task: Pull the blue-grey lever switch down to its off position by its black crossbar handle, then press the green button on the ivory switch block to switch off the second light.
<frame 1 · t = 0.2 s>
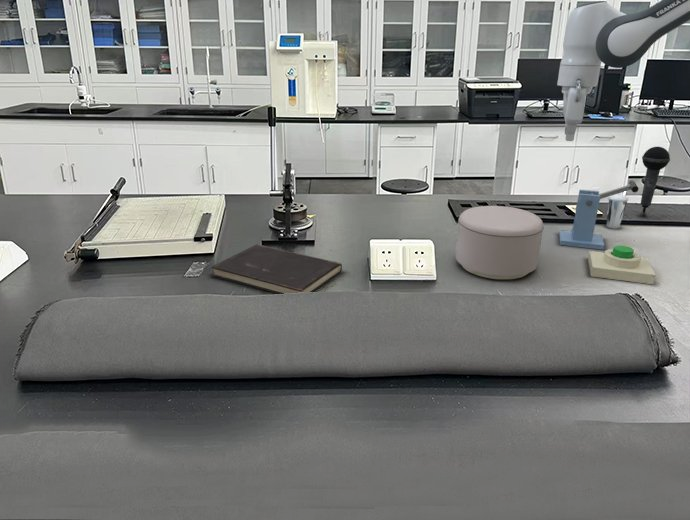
hand: (568, 137, 131), 25 cm above the countertop, tool pointing down, fingers open, 8 cm apart
lever bracket: (580, 241, 134), on the countertop
light button: (622, 252, 115), point 5 cm above the countertop, slide at 0.2 cm
light lever: (608, 193, 128), point 13 cm above the countertop, hinge at 25.0°
milkshake: (613, 227, 145), on the countertop
container: (494, 266, 120), on the countertop
hardcover book: (277, 274, 115), on the countertop
microphone: (642, 216, 154), on the countertop
switch block: (618, 271, 117), on the countertop
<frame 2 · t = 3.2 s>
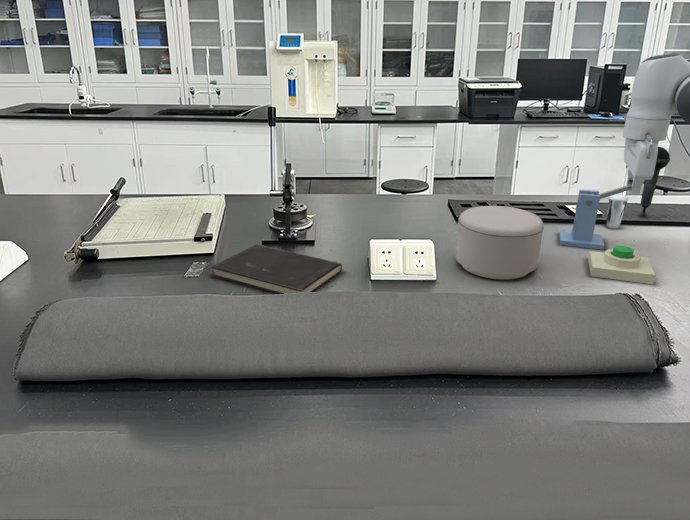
hand: (632, 189, 126), 14 cm above the countertop, tool pointing down, fingers closed on light lever, 6 cm apart
light lever: (608, 193, 128), point 13 cm above the countertop, hinge at 25.0°, touching gripper
everything else where it was.
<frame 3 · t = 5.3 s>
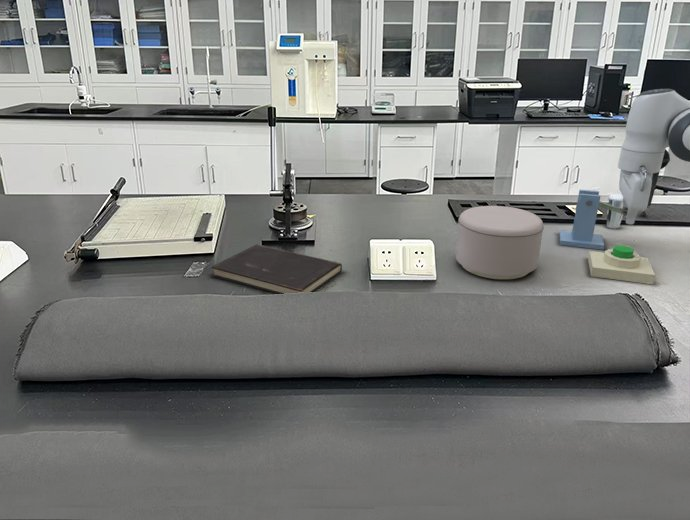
hand: (627, 218, 128), 7 cm above the countertop, tool pointing down, fingers closed on light lever, 6 cm apart
light lever: (607, 206, 129), point 10 cm above the countertop, hinge at -14.9°, touching gripper
everything else where it was.
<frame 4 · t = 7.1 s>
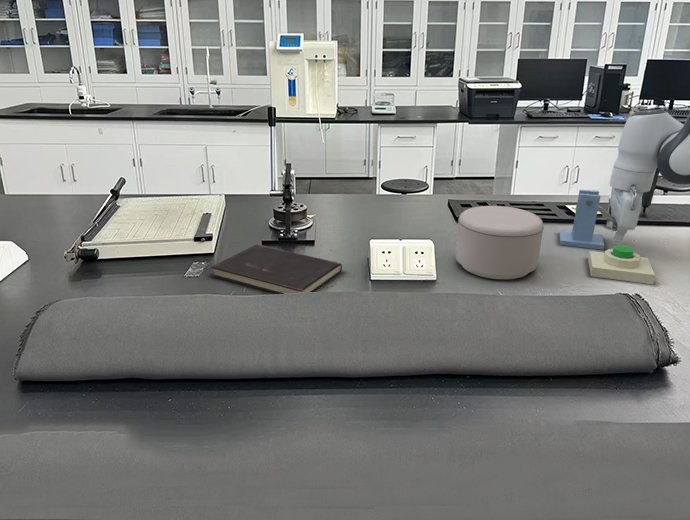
hand: (616, 235, 131), 3 cm above the countertop, tool pointing down, fingers closed on light lever, 6 cm apart
light lever: (603, 212, 130), point 8 cm above the countertop, hinge at -35.4°, touching gripper
everything else where it was.
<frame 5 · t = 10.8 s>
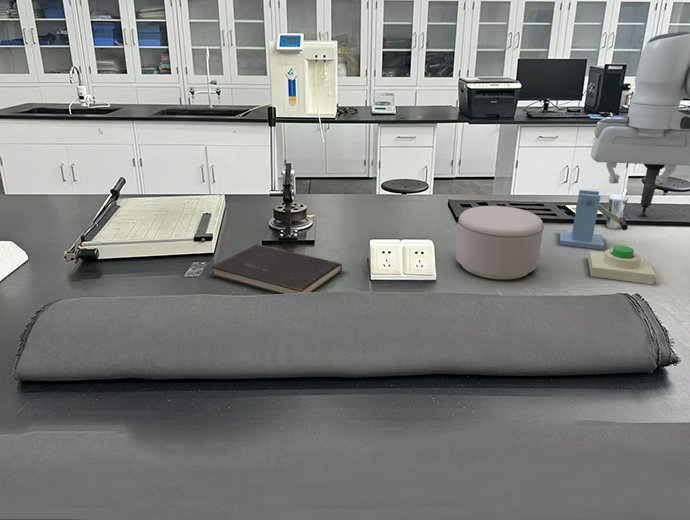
hand: (636, 183, 114), 19 cm above the countertop, tool pointing down, fingers open, 8 cm apart
light lever: (604, 210, 129), point 9 cm above the countertop, hinge at -30.7°
everything else where it was.
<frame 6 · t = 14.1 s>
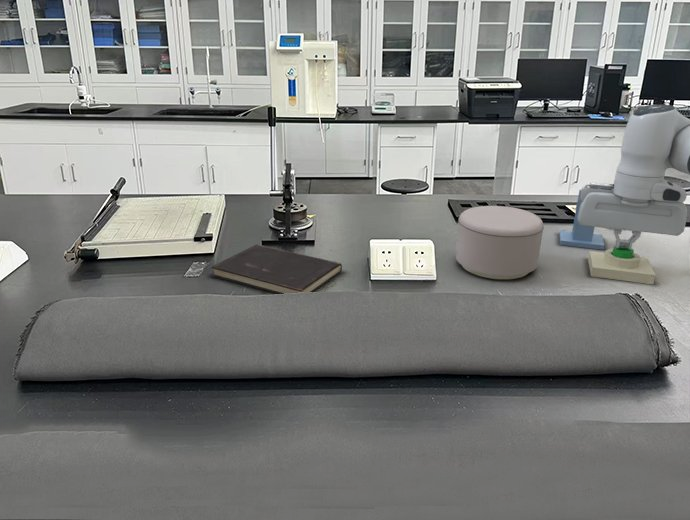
hand: (622, 248, 115), 5 cm above the countertop, tool pointing down, fingers closed, pressing on light button
light button: (622, 252, 115), point 4 cm above the countertop, slide at 0.1 cm, touching gripper
everything else where it was.
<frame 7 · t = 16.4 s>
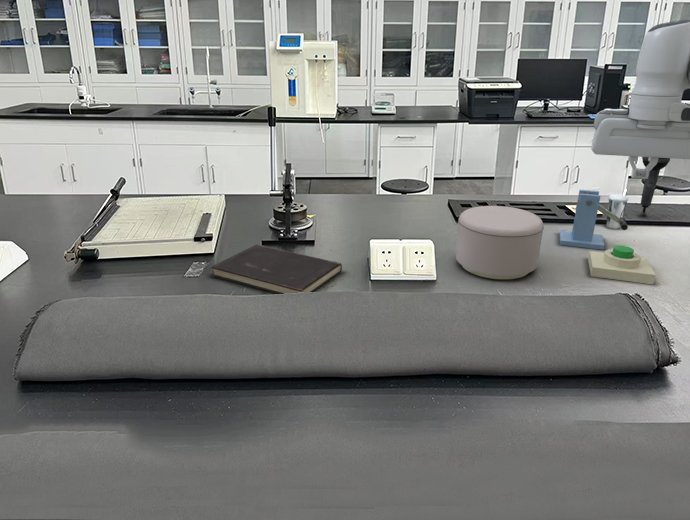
hand: (639, 177, 111), 21 cm above the countertop, tool pointing down, fingers closed
light button: (622, 252, 115), point 5 cm above the countertop, slide at 0.1 cm
everything else where it was.
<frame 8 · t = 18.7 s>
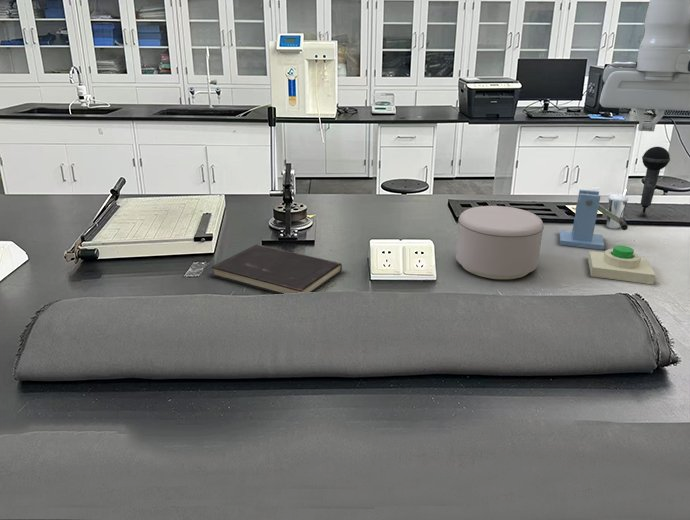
hand: (645, 130, 114), 29 cm above the countertop, tool pointing down, fingers closed
nothing on the countertop moved.
at the end: light lever at -31° (first picture: +25°); light button pushed in 1.0 cm at the most during the clip, back to where it started at the end; light button slide at 0.1 cm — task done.
